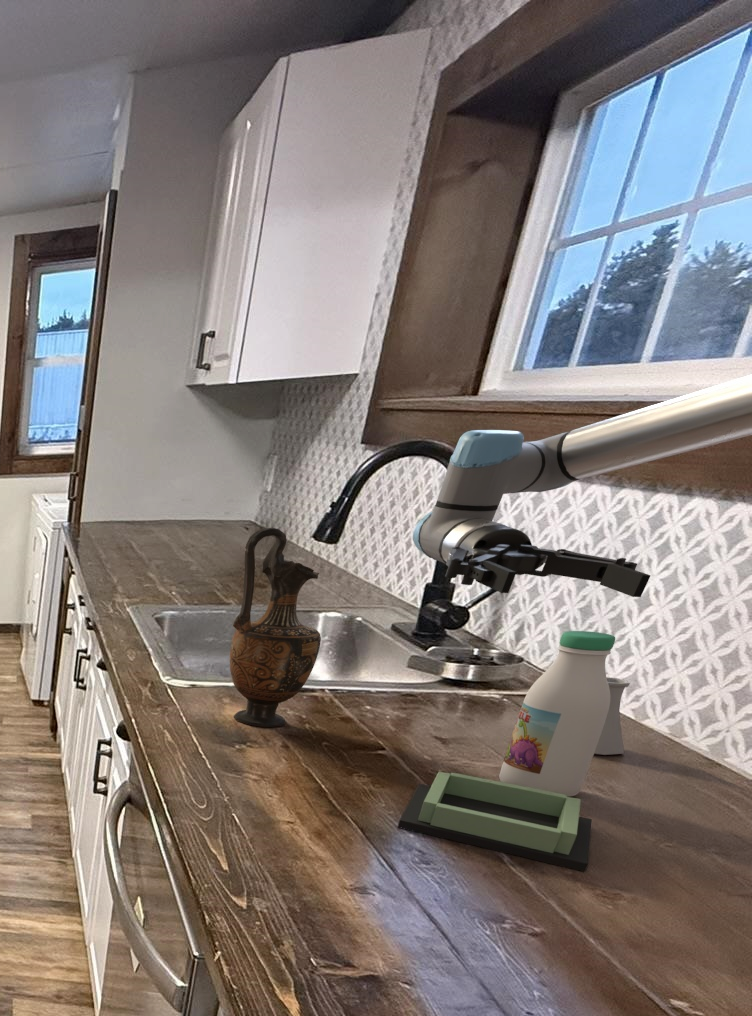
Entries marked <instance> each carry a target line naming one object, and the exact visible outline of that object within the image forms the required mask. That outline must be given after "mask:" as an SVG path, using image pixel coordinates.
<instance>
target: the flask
mask: <svg viewBox="0 0 752 1016" xmlns="http://www.w3.org/2000/svg"><path fill="white" fill-rule="evenodd" d="M606 678H607V682H608V685H609V689H610V706H609V710H608V714H607V717H606V720H605V724H604V727H603V729H602V732H601V735H600V738H599V741H598V744H597V747H596V750H595V752H594V755H603V756H607V755H623V754H625V746H624V740H623V732H622V723H621V712H620V709H621V702H622V701H621V700H622V696H623V693H624V691H625V689H626V688H628V687H630V684H631V683H630V682H629V681H628V680H626V679H622V678H617V677H609V676H606Z"/></svg>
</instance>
